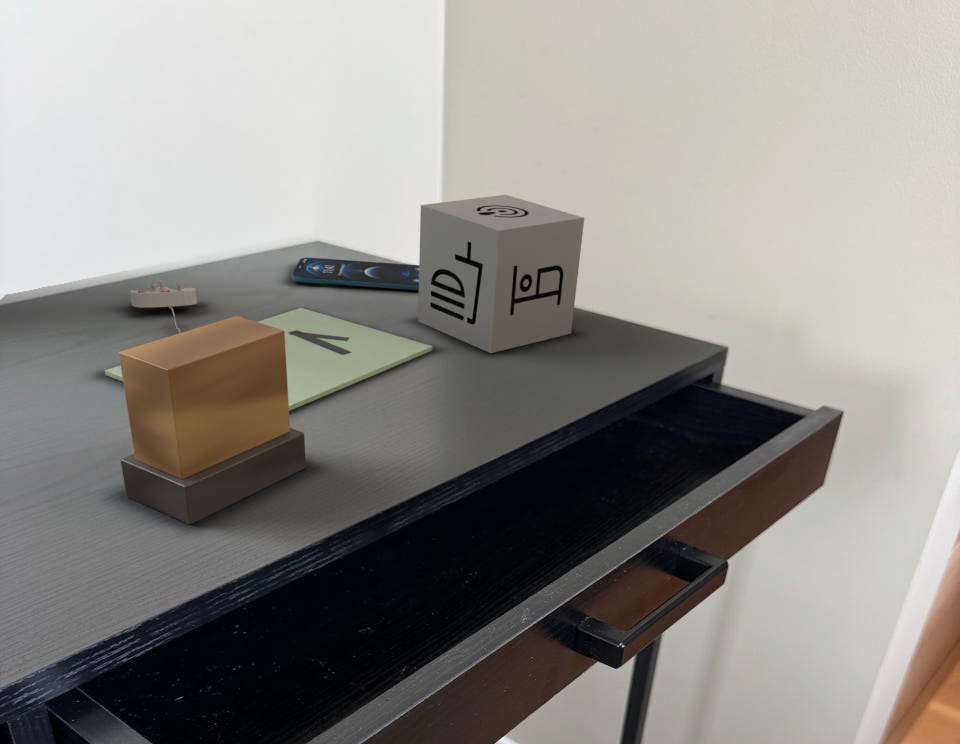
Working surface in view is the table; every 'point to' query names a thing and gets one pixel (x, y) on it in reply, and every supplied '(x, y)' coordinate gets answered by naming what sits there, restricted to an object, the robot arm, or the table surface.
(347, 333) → the marker board
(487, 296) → the icon cube
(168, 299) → the game controller
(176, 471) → the eraser
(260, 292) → the table surface
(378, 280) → the smartphone
